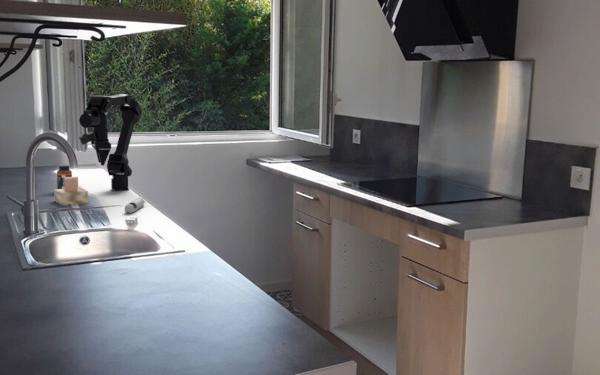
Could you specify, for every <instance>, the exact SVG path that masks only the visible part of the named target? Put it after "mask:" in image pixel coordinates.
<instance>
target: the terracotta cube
mask: <svg viewBox="0 0 600 375" xmlns="http://www.w3.org/2000/svg"><path fill="white" fill-rule="evenodd" d="M64 185H65V192H66V191H78V188H79V176H72V177H65V179H64Z"/></svg>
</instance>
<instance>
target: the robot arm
mask: <svg viewBox="0 0 600 375" xmlns="http://www.w3.org/2000/svg"><path fill="white" fill-rule="evenodd" d="M86 105H87V106H86V107H85V110H83V113H82V114H81V115H80V117H79V120H78V121H79V122H78V123H79V125H80V126H81V127H83V128H85V129H86V128H87V129H89V128H92V129H91V132H89V133H87V132H86V133H82V135H79V136H78V140H79V142H80V144H81V145H86V144H88V143H90V145H91V147H92V148H93V149H94V150H95V153H96V158H97V162H98V163H99V164H100V166H105V165H106V168H107V173H108V176H112V178H110V187H111V189H112V190H113V191H129V190H130V189H129V177H131V176H132V175H133V170H132V168H131V167H130V165H129V164H130V163H129V158H128V155H127V154H128V151H129V147H130V144H131V139H132V135H133V131H134V129H135V125H136V124H137V123H138V122H140V120H141V116H142V114H143V109H142V107H141V106H140V104H139V102H138V101H136V100H135V99H133V97H132V96H131V95H130V94H127V93H126V94H123V93H120V94H116V95H95V94H94V95H91V97H90V99H89V100H88V104H86ZM117 105H118V109H119V111H120V113H121V114H120V116H121V119H122V125H121V129H120V133H119V135H118V139H117V144H116V147H115V151H114V152H113V153H110V151H111V149H112V143H111V142H110V141H109V136H108V134H109V129H108V128H109V127H108V126H109V125H108V116H110V114H111V113H110V112H109V111H108V110H109V109H112V107H114V106H117ZM106 161H107V163H106Z"/></svg>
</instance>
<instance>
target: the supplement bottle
mask: <svg viewBox="0 0 600 375" xmlns="http://www.w3.org/2000/svg"><path fill="white" fill-rule="evenodd" d="M58 168H59V169H58V170H57V171H56V186H57V188H56V189H65V185H64V179H65V177H73V172H72V170H70V165H69V164H59V165H58Z"/></svg>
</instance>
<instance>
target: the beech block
mask: <svg viewBox="0 0 600 375" xmlns="http://www.w3.org/2000/svg"><path fill="white" fill-rule="evenodd" d="M53 191H54V192H53V193H54V195H53V196H54V198H53V199H54V202H55V201H56V202H55V203H57V202H58V203H59V204H58V203H57V204H58V205H60V204H61V205H60V206H62V205H63V206H69V205H68V204H74V205H83V204H84V205H85V204H89V193H88V192H89V191H87V190H85V189H84V188H82V187H78V191H66V192H65V189H57V188H56V189H54V190H53Z"/></svg>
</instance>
